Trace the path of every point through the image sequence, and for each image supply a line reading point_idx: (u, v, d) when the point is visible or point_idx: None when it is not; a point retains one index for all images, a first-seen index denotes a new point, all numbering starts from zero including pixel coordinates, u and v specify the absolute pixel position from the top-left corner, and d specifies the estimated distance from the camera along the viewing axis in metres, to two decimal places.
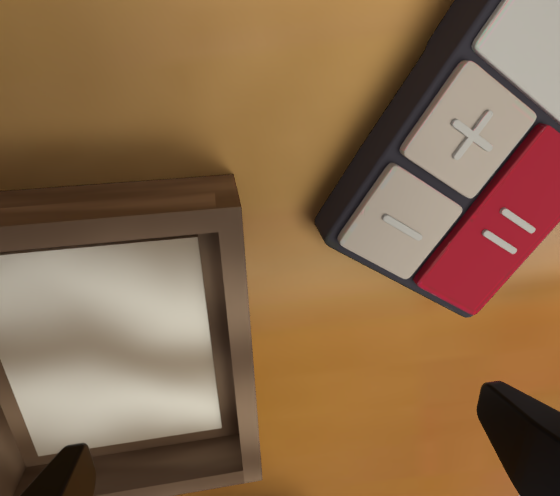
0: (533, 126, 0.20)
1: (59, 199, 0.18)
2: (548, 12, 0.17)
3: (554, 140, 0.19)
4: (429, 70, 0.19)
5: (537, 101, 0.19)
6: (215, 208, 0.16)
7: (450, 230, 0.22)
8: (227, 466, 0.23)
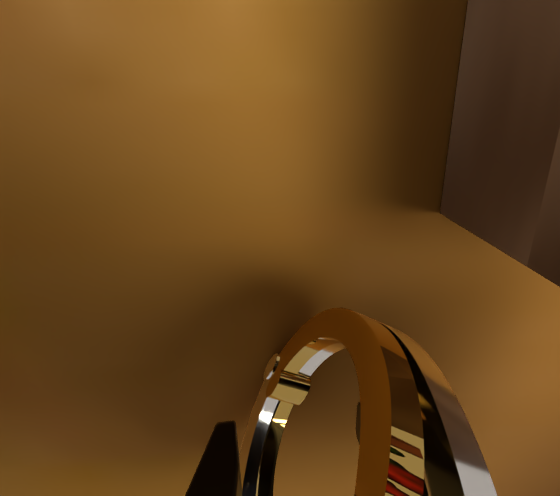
0: None
1: None
2: None
3: None
4: None
5: None
6: None
7: None
8: None
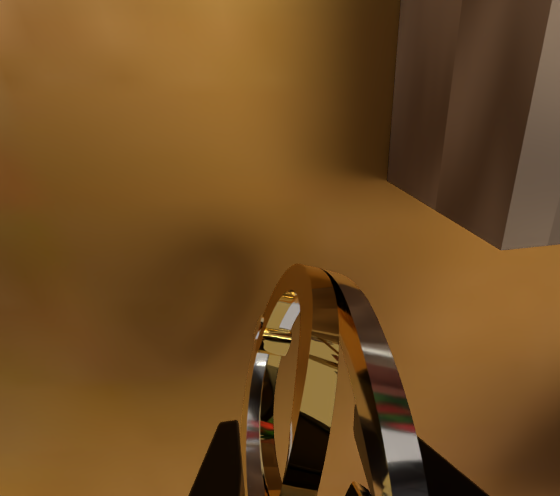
0: None
1: None
2: None
3: None
4: None
5: None
6: None
7: None
8: None
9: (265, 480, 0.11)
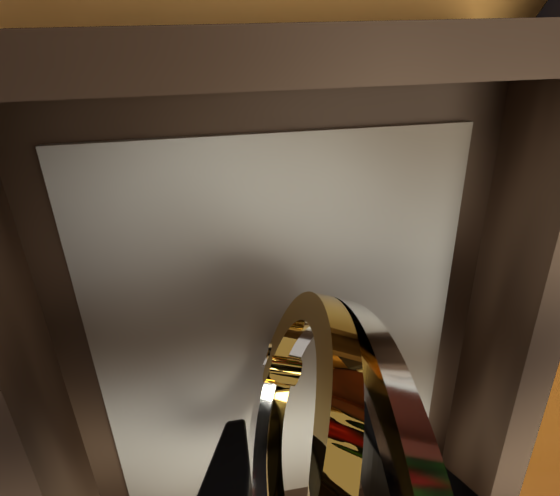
0: None
1: None
2: None
3: None
4: None
5: None
6: None
7: None
8: None
9: None
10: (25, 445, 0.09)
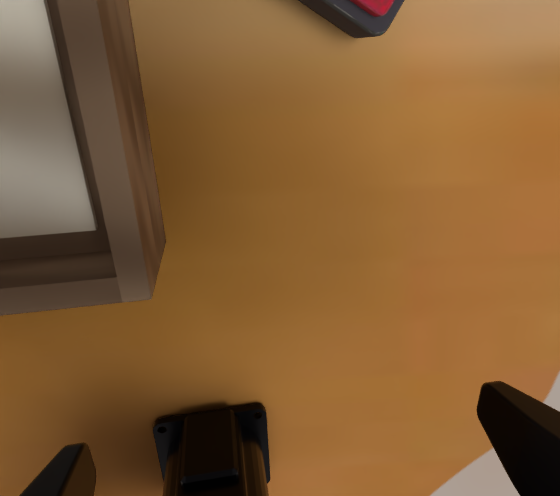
0: None
1: None
2: None
3: None
4: None
5: None
6: None
7: None
8: (95, 274, 0.14)
9: None
10: None
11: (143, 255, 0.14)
